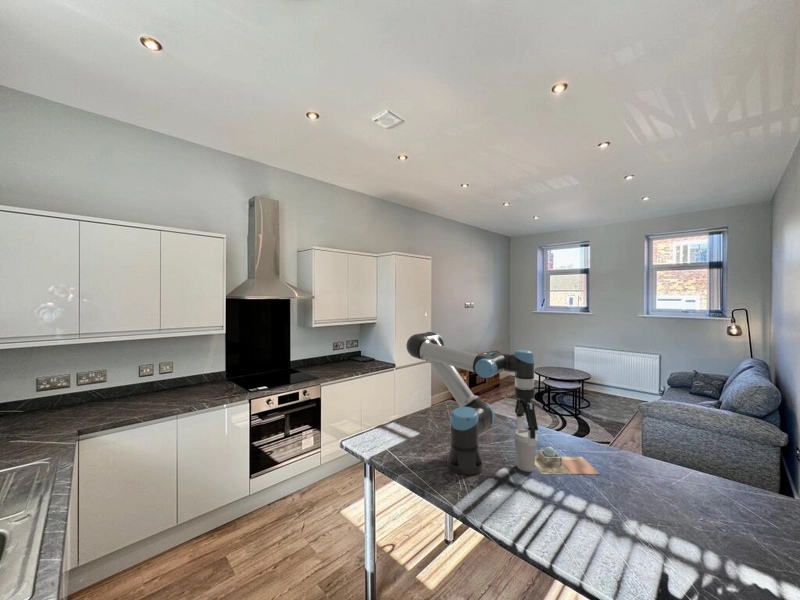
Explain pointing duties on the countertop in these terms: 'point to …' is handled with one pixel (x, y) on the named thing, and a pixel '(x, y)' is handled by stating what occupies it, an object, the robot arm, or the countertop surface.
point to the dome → (549, 452)
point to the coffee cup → (524, 451)
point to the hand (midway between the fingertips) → (526, 438)
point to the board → (563, 465)
